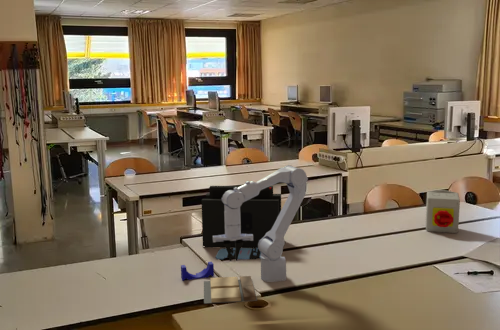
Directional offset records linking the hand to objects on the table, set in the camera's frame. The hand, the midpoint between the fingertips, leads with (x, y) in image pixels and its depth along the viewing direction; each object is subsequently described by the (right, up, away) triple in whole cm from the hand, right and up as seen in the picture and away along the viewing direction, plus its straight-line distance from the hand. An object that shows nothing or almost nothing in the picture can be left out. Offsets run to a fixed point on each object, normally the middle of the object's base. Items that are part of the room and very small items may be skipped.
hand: (233, 260), depth 194 cm
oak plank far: (-3, -9, 0) cm, 10 cm away
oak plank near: (-2, -11, -10) cm, 15 cm away
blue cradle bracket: (-14, -9, +10) cm, 19 cm away
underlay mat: (-1, -11, -4) cm, 12 cm away
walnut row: (+5, -10, -4) cm, 12 cm away
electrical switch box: (+100, +2, +67) cm, 120 cm away
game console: (+2, -3, +45) cm, 46 cm away
